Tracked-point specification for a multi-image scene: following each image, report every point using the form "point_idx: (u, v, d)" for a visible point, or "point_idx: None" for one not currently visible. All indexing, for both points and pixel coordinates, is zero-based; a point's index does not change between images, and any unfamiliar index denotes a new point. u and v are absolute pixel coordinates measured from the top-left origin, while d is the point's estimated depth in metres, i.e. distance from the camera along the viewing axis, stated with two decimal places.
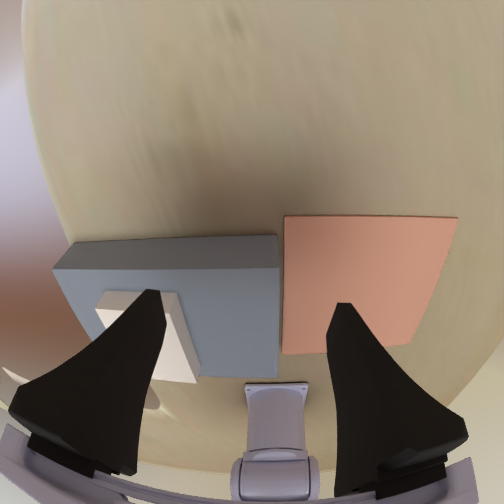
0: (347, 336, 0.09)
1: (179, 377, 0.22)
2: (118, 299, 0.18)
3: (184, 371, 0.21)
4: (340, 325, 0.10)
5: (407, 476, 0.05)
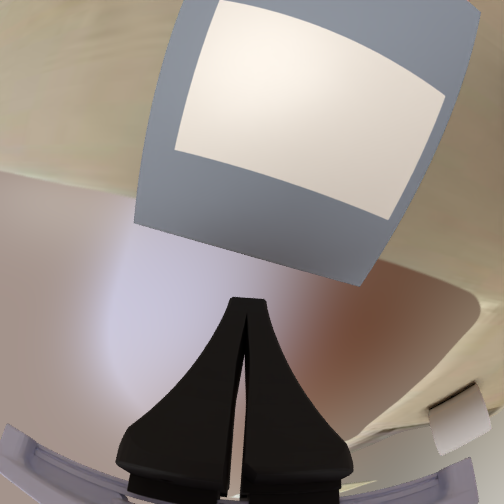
0: (247, 333, 0.09)
1: (419, 114, 0.08)
2: None
3: (403, 84, 0.08)
4: (246, 321, 0.10)
5: (284, 495, 0.05)
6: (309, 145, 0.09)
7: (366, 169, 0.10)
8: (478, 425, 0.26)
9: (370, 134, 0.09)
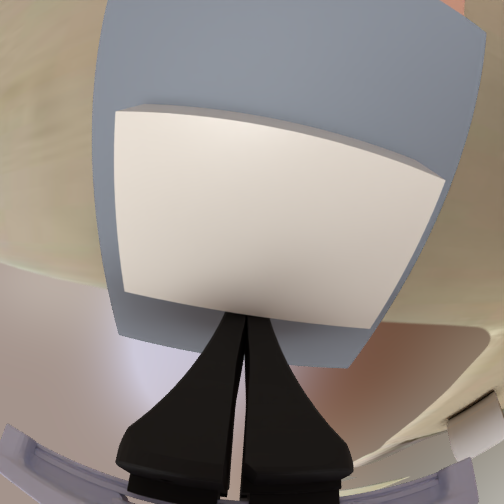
0: (247, 333, 0.09)
1: (407, 215, 0.07)
2: None
3: (384, 182, 0.07)
4: (246, 321, 0.10)
5: (284, 495, 0.05)
6: (265, 279, 0.08)
7: (338, 291, 0.09)
8: (496, 435, 0.22)
9: (340, 255, 0.08)
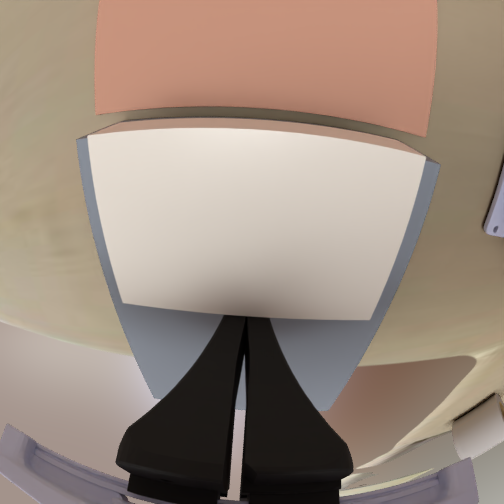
0: (247, 333, 0.09)
1: (389, 199, 0.07)
2: None
3: (358, 167, 0.06)
4: (246, 321, 0.10)
5: (284, 495, 0.05)
6: (252, 279, 0.09)
7: (329, 284, 0.09)
8: (496, 436, 0.24)
9: (324, 248, 0.08)
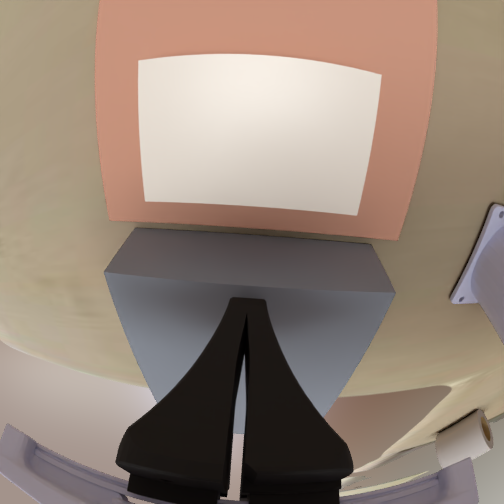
0: (247, 333, 0.09)
1: None
2: None
3: None
4: (246, 321, 0.10)
5: (284, 495, 0.05)
6: None
7: None
8: (476, 449, 0.27)
9: None
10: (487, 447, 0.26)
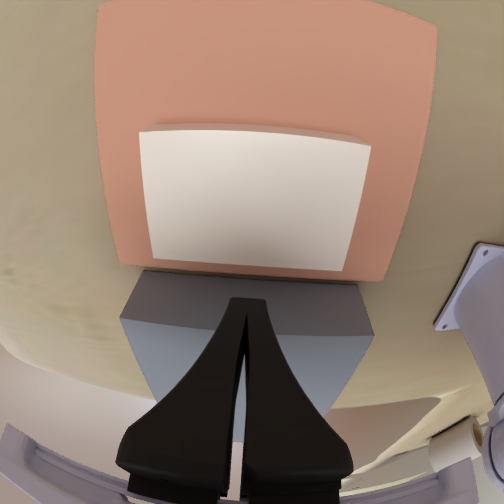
0: (247, 333, 0.09)
1: None
2: None
3: None
4: (246, 321, 0.10)
5: (284, 495, 0.05)
6: None
7: None
8: (468, 454, 0.28)
9: None
10: (478, 453, 0.27)
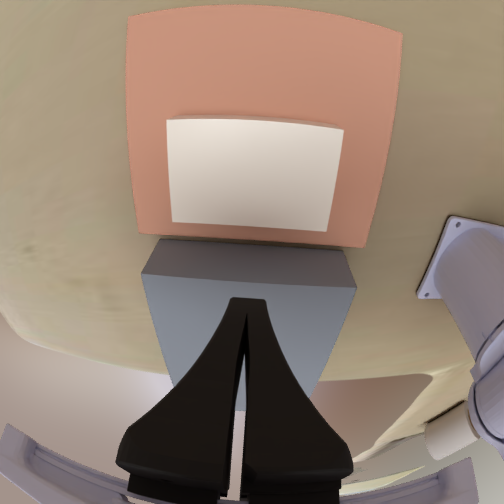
0: (247, 333, 0.09)
1: None
2: None
3: None
4: (246, 321, 0.10)
5: (284, 495, 0.05)
6: None
7: None
8: (463, 438, 0.32)
9: None
10: (474, 437, 0.30)
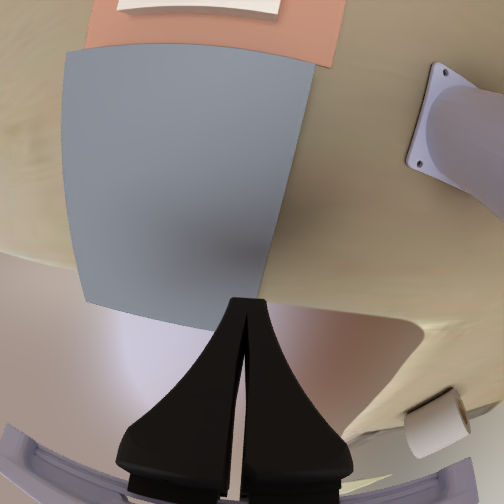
0: (247, 333, 0.09)
1: None
2: None
3: None
4: (246, 321, 0.10)
5: (284, 495, 0.05)
6: None
7: None
8: (452, 431, 0.28)
9: None
10: (465, 430, 0.27)
